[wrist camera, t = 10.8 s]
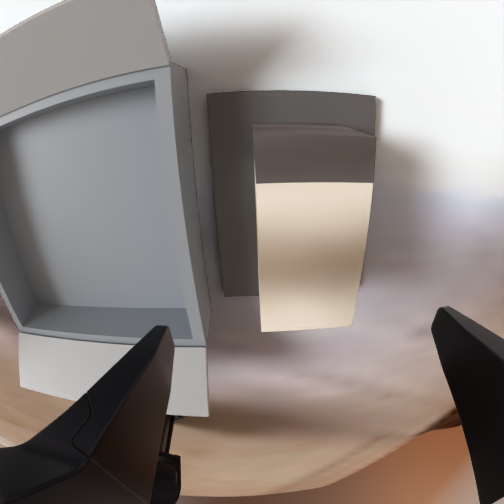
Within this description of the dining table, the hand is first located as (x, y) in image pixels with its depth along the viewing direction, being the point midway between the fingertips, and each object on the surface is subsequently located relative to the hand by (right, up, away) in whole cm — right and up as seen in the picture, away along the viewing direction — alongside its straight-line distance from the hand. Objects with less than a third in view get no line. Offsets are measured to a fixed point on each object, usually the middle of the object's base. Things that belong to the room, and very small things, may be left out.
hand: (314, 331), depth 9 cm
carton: (-14, +5, +10) cm, 18 cm away
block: (+1, +6, +10) cm, 11 cm away
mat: (+1, +6, +10) cm, 12 cm away
